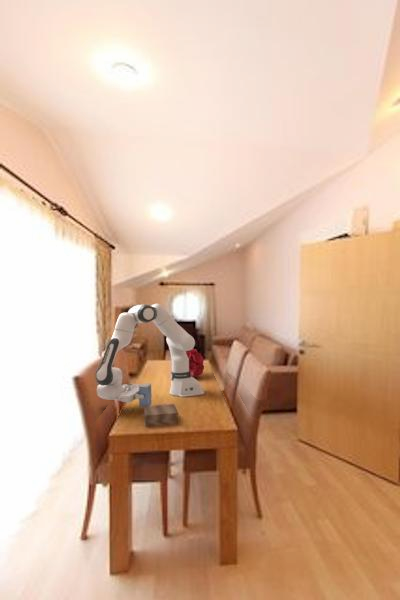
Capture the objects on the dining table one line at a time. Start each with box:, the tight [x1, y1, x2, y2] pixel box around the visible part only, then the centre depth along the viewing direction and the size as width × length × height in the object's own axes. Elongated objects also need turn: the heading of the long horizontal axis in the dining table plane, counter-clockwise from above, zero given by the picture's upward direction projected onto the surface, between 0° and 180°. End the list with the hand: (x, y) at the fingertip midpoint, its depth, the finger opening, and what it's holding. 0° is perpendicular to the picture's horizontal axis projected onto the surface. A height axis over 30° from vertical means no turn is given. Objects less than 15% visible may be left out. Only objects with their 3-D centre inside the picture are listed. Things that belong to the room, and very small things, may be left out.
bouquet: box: [186, 348, 205, 378], centre depth 275 cm, size 22×24×30 cm
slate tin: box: [138, 382, 152, 408], centre depth 197 cm, size 5×5×12 cm
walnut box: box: [143, 403, 179, 428], centre depth 182 cm, size 16×14×6 cm
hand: (146, 394), depth 196 cm, fingers closed on slate tin, 5 cm apart
